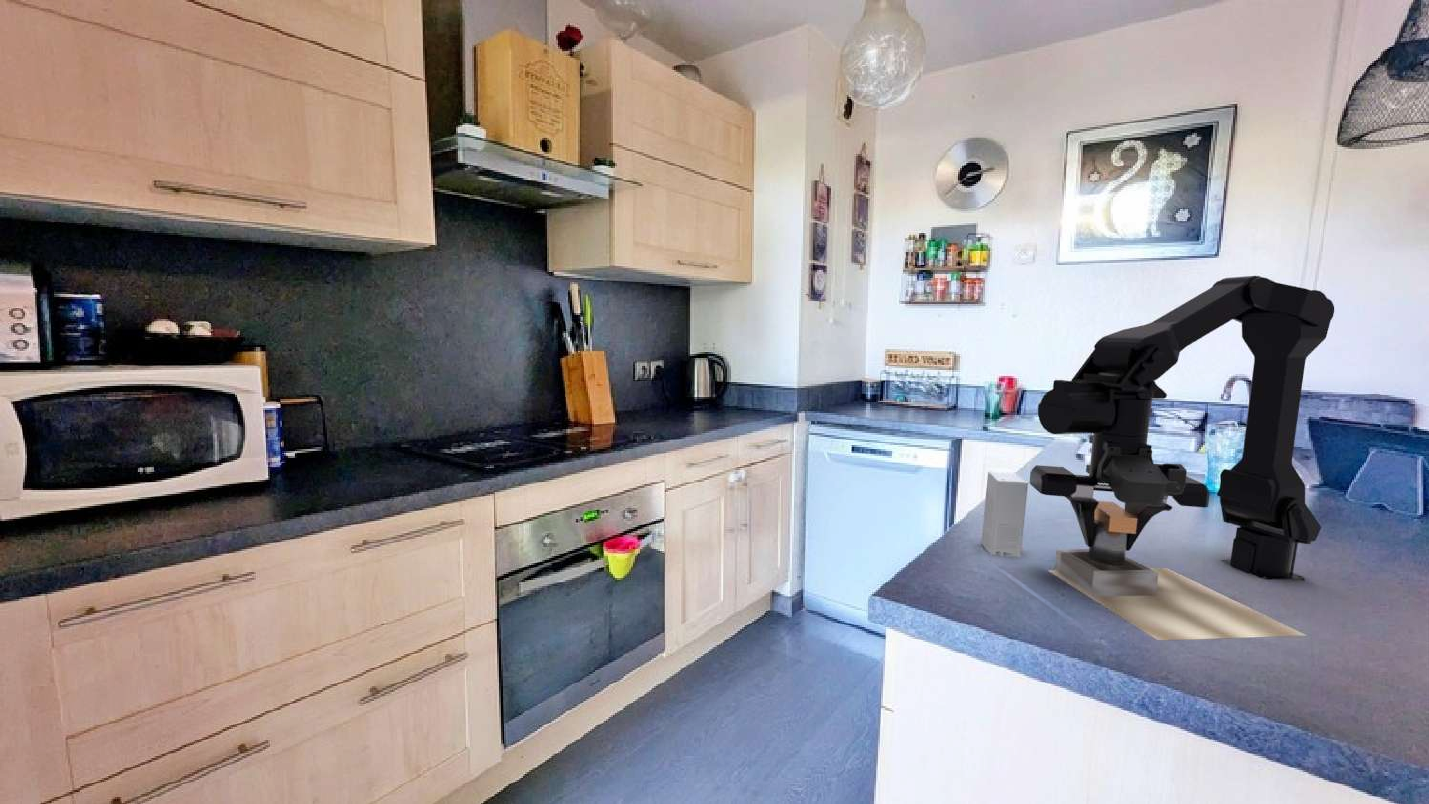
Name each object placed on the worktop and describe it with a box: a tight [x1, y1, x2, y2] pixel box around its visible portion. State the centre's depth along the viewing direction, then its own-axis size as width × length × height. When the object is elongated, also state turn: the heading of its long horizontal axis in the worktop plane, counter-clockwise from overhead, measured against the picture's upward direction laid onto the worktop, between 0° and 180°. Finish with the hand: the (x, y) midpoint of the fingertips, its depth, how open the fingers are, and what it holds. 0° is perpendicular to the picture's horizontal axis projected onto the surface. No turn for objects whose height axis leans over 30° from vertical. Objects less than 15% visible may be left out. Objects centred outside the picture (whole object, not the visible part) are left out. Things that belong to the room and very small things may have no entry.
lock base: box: [1047, 548, 1307, 642], centre depth 71 cm, size 18×18×4 cm
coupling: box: [1088, 500, 1137, 566], centre depth 75 cm, size 7×4×7 cm, turn 166°
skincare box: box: [981, 471, 1029, 558], centre depth 87 cm, size 6×4×12 cm
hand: (1107, 547), depth 76 cm, fingers closed on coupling, 4 cm apart
